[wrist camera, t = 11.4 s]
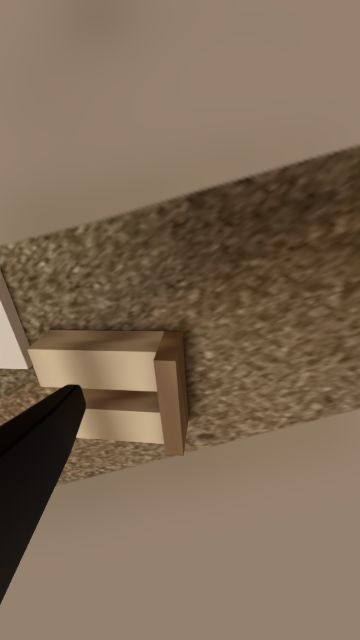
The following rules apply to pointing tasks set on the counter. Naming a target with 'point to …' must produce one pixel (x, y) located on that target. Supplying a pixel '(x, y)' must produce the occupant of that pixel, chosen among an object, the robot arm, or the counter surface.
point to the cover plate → (11, 334)
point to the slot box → (121, 382)
